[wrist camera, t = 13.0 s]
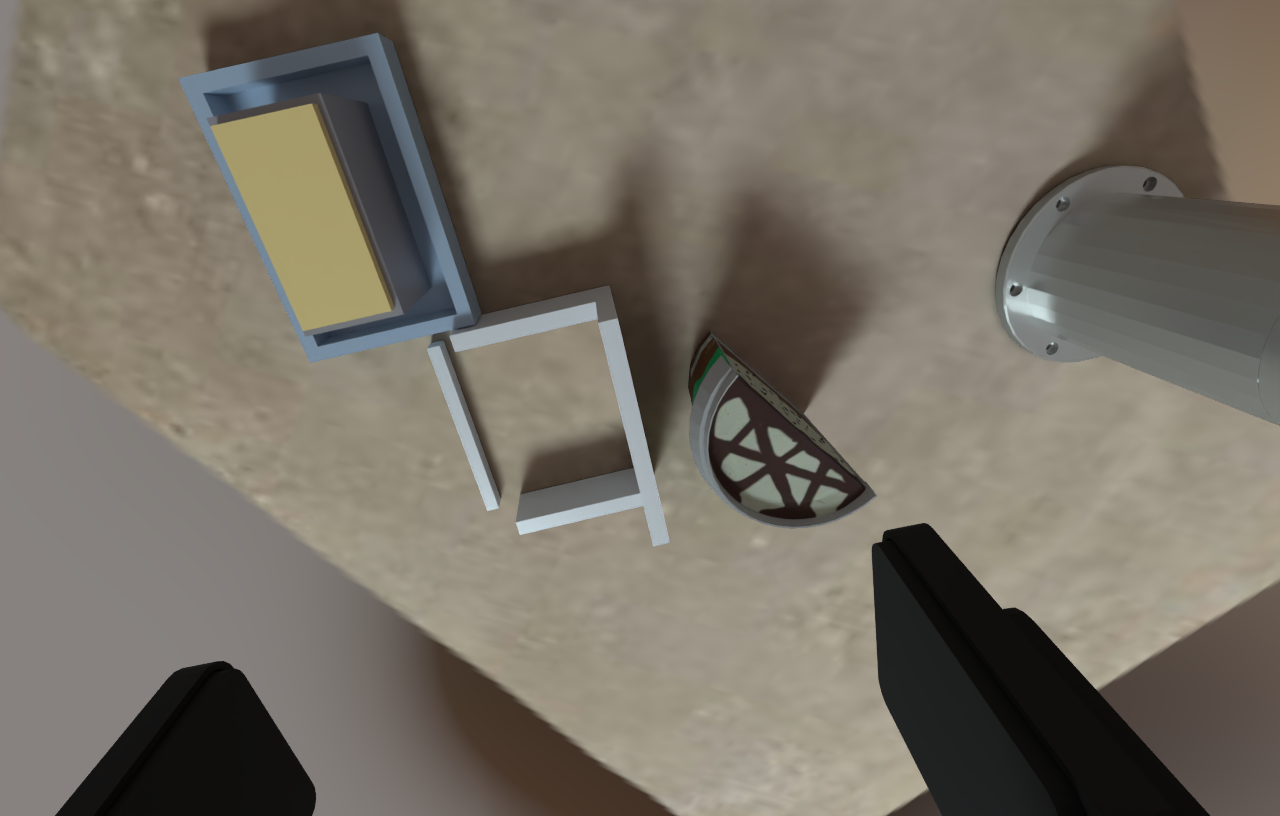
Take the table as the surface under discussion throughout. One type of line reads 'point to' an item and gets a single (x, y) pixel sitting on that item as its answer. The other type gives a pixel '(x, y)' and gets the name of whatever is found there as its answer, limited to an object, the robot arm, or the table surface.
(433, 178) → the tray
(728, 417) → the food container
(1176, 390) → the table surface
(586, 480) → the bay
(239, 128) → the yellow-topped block
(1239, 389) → the robot arm
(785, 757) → the table surface
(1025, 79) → the table surface
